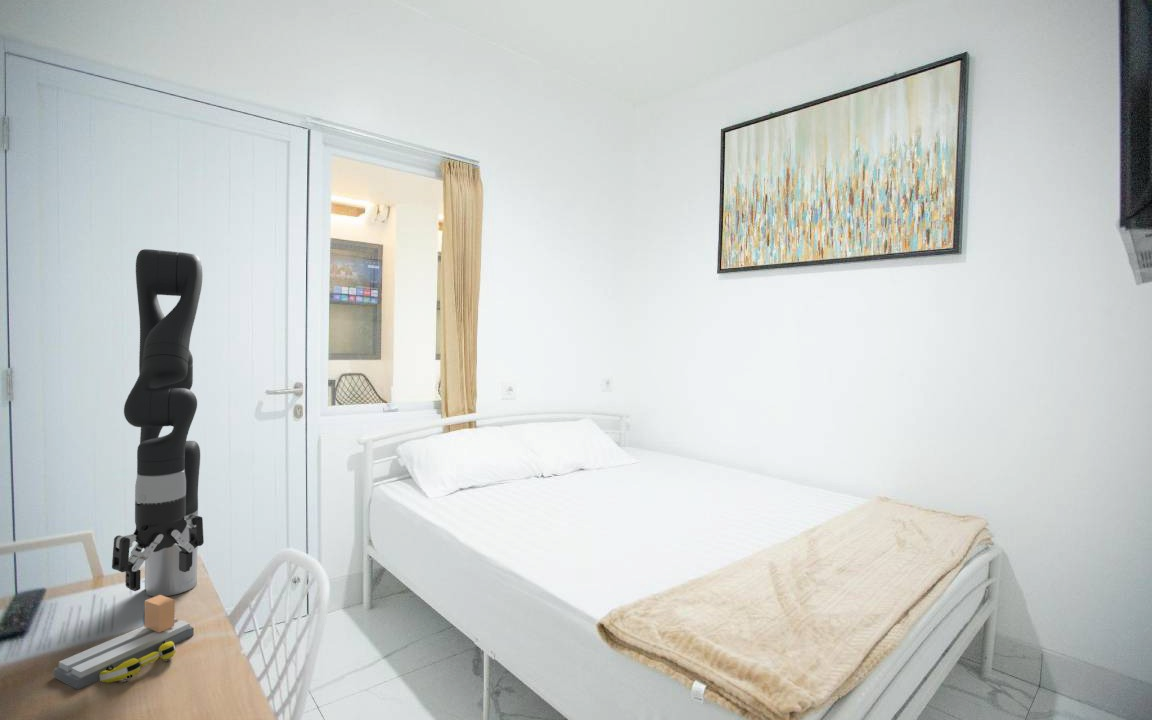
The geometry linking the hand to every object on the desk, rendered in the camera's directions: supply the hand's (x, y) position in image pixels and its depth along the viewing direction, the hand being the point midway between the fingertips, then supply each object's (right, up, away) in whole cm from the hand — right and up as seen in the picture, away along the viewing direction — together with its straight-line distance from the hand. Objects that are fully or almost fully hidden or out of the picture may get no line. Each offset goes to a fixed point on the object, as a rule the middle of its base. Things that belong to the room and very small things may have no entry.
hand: (160, 579), depth 101 cm
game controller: (+3, -12, -8) cm, 15 cm away
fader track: (-2, -12, -5) cm, 13 cm away
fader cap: (0, -10, 0) cm, 10 cm away
